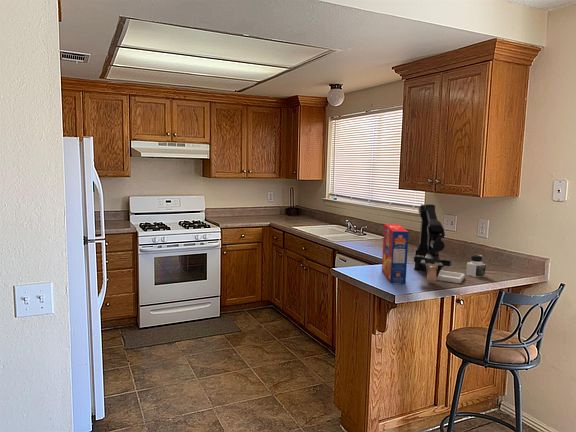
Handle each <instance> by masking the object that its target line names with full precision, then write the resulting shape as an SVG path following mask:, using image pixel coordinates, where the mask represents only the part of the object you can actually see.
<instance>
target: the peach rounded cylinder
mask: <svg viewBox="0 0 576 432" xmlns="http://www.w3.org/2000/svg"><path fill="white" fill-rule="evenodd" d="M437 269H438V266H435V265H428V268H427V276H426V280H427V281H429V282H437V281H438V280H437Z"/></svg>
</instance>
